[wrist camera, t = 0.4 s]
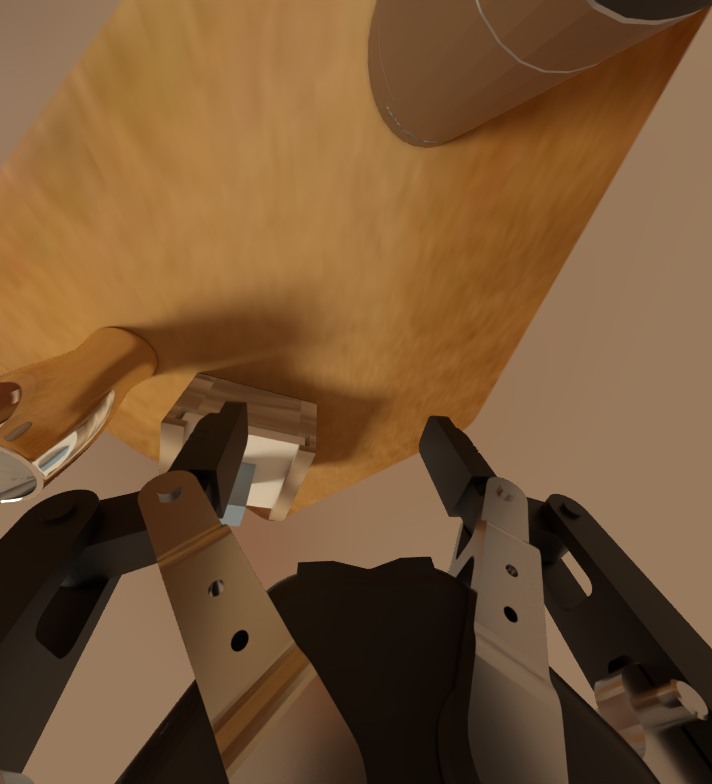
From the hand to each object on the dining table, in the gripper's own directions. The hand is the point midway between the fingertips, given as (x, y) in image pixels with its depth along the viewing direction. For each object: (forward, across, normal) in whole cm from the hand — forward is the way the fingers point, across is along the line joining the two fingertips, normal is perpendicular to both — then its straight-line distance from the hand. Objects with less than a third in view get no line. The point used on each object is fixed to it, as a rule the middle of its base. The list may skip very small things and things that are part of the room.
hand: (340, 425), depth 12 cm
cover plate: (+14, +8, +17) cm, 23 cm away
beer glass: (+19, +20, +7) cm, 29 cm away
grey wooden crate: (+20, +8, +17) cm, 27 cm away
